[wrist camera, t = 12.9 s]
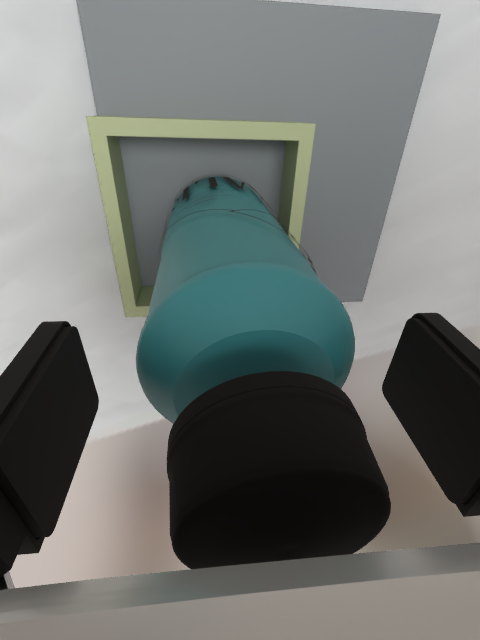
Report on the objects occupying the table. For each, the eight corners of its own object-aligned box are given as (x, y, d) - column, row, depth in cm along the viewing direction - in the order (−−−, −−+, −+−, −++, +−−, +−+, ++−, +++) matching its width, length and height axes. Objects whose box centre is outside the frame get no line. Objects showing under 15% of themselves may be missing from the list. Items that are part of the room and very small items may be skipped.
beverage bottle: (213, 279, 24) (256, 639, 8) (147, 213, 21) (-24, 583, 5) (282, 223, 23) (526, 531, 6) (221, 141, 19) (383, 317, 3)
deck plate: (424, 20, 19) (482, -3, 15) (354, 293, 28) (379, 320, 25) (82, -5, 16) (50, -39, 13) (135, 300, 26) (125, 331, 22)
